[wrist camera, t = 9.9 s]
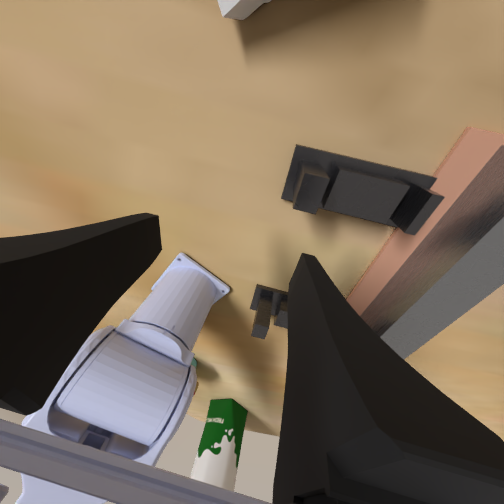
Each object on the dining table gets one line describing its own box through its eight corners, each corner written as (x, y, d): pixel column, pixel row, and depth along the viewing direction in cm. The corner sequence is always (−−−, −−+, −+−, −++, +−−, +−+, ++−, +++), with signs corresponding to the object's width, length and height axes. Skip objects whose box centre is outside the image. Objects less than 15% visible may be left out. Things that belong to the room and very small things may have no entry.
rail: (363, 352, 28) (372, 383, 25) (335, 345, 28) (341, 374, 25) (562, 158, 13) (651, 171, 10) (501, 145, 13) (569, 152, 10)
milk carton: (226, 413, 54) (196, 541, 37) (205, 398, 50) (162, 532, 34) (252, 412, 50) (232, 554, 33) (232, 396, 46) (198, 546, 30)
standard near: (399, 225, 18) (430, 257, 14) (281, 196, 18) (277, 218, 14) (433, 176, 15) (485, 196, 11) (296, 144, 16) (297, 152, 12)
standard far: (327, 327, 27) (333, 363, 23) (250, 306, 27) (243, 338, 23) (341, 306, 24) (351, 344, 20) (256, 284, 25) (249, 316, 21)
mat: (378, 356, 28) (379, 358, 28) (317, 339, 29) (318, 342, 28) (604, 157, 13) (612, 158, 13) (467, 127, 13) (471, 127, 13)
